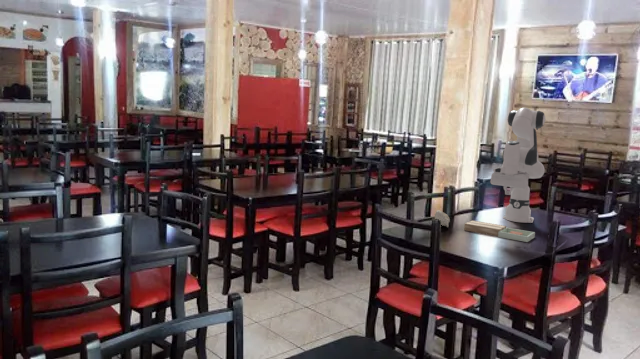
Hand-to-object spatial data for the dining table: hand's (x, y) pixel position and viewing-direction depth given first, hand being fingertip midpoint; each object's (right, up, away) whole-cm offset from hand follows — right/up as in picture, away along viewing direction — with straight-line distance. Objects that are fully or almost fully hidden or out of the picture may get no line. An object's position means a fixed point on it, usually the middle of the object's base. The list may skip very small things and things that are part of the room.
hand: (507, 194), depth 308 cm
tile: (+4, -21, -1) cm, 22 cm away
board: (-10, -22, +9) cm, 26 cm away
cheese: (-39, -21, +9) cm, 45 cm away
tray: (+4, -24, -1) cm, 24 cm away
